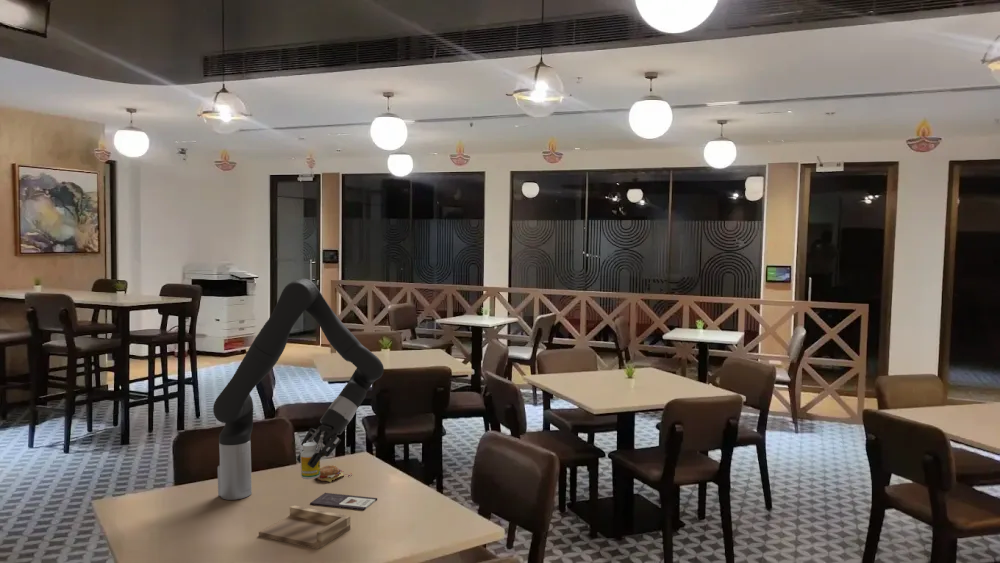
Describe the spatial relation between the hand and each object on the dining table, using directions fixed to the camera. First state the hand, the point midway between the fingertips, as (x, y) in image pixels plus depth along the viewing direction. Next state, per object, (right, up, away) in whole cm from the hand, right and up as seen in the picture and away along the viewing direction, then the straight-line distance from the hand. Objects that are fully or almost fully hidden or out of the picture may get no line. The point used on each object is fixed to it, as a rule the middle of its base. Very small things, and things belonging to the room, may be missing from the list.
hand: (304, 463), depth 201 cm
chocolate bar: (+8, -16, +14) cm, 23 cm away
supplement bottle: (+1, -4, +2) cm, 5 cm away
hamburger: (0, -15, +37) cm, 40 cm away
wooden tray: (+2, -17, -8) cm, 19 cm away
